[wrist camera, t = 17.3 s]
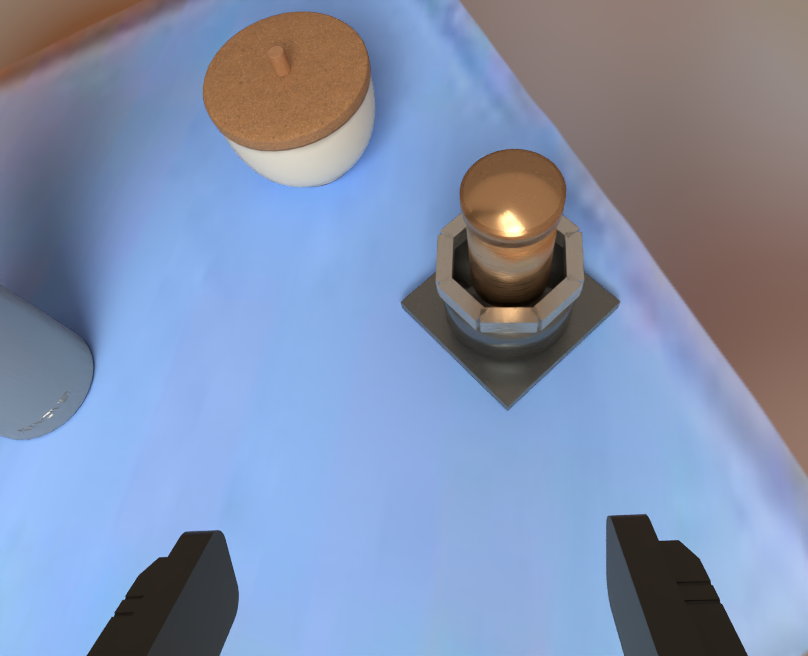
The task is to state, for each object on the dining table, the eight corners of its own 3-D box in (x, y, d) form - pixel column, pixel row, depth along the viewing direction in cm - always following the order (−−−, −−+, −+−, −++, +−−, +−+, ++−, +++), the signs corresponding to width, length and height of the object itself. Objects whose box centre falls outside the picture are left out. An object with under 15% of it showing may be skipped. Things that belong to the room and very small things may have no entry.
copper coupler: (450, 274, 41) (438, 191, 33) (509, 223, 42) (512, 131, 34) (509, 328, 39) (512, 254, 31) (570, 274, 40) (589, 187, 32)
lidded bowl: (248, 107, 58) (195, 4, 48) (384, 86, 57) (359, -26, 47) (243, 224, 53) (183, 134, 43) (393, 203, 51) (367, 105, 41)
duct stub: (402, 308, 48) (386, 258, 41) (507, 217, 49) (508, 155, 43) (507, 410, 43) (508, 374, 36) (618, 307, 45) (638, 255, 38)
